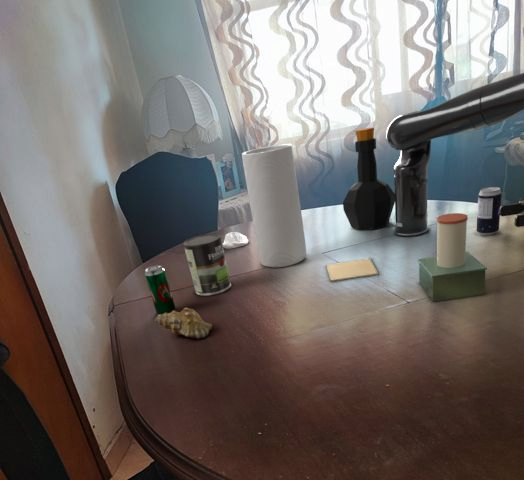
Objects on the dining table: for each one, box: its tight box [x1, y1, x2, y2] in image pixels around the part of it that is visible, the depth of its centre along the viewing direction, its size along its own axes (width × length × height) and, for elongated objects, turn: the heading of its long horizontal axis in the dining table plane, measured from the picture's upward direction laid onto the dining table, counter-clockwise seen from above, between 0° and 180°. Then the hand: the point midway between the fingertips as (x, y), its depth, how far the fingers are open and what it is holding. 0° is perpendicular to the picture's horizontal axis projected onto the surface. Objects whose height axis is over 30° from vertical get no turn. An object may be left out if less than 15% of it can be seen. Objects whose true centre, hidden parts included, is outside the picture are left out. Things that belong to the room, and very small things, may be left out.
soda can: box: [144, 264, 177, 315], centre depth 117 cm, size 5×5×12 cm
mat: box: [326, 258, 379, 282], centre depth 123 cm, size 12×12×1 cm
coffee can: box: [182, 233, 232, 297], centre depth 126 cm, size 10×10×14 cm
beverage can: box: [475, 186, 503, 236], centre depth 127 cm, size 6×6×12 cm
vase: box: [241, 143, 307, 269], centre depth 132 cm, size 14×14×32 cm
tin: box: [417, 251, 488, 303], centre depth 101 cm, size 11×11×6 cm
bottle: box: [342, 126, 395, 231], centre depth 150 cm, size 16×16×30 cm
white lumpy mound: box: [222, 231, 249, 249], centre depth 163 cm, size 10×4×10 cm
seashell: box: [154, 307, 213, 339], centre depth 105 cm, size 9×8×10 cm
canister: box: [436, 212, 469, 268], centre depth 98 cm, size 6×6×10 cm
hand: (507, 216), depth 94 cm, fingers open, 8 cm apart
